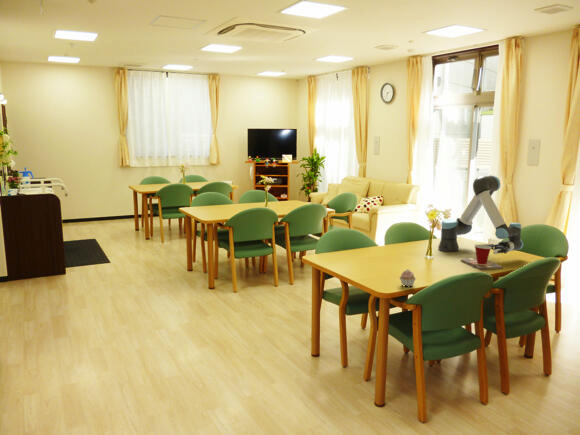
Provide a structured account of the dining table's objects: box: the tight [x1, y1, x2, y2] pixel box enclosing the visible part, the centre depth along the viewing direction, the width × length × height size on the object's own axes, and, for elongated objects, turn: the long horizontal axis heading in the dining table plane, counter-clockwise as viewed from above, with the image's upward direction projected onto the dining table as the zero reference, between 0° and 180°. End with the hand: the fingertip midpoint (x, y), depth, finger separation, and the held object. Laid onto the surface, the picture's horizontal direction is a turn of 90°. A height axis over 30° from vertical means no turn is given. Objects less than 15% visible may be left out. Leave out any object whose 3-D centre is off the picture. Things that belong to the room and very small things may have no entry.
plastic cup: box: [474, 244, 492, 264], centre depth 308 cm, size 11×11×12 cm
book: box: [460, 257, 504, 271], centre depth 312 cm, size 24×16×2 cm, turn 10°
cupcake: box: [399, 268, 417, 287], centre depth 268 cm, size 9×9×10 cm
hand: (485, 250), depth 311 cm, fingers open, 13 cm apart
